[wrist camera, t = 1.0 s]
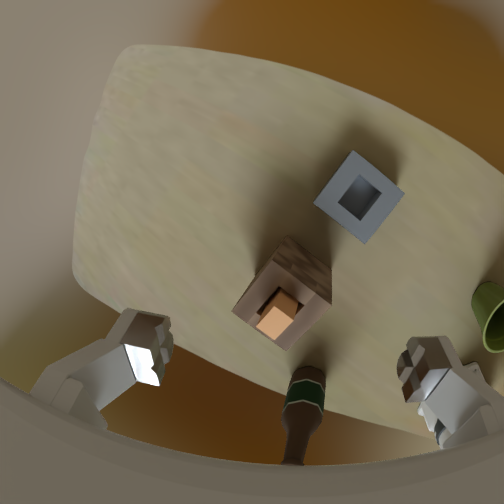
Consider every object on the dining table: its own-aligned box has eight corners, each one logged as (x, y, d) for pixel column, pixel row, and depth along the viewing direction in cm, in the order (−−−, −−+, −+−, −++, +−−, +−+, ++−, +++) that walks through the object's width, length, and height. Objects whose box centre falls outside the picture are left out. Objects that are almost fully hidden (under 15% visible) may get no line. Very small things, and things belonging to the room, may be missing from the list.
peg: (300, 293, 42) (293, 320, 34) (284, 311, 43) (274, 340, 36) (284, 281, 42) (274, 305, 34) (268, 300, 43) (255, 326, 36)
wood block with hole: (331, 269, 50) (331, 305, 37) (297, 308, 54) (286, 351, 41) (286, 235, 50) (271, 259, 37) (254, 276, 54) (231, 311, 41)
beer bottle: (290, 364, 58) (266, 454, 35) (327, 365, 56) (317, 458, 33) (290, 390, 60) (268, 476, 37) (324, 391, 58) (313, 480, 35)
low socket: (395, 190, 43) (404, 193, 38) (360, 235, 47) (364, 244, 41) (349, 152, 43) (353, 149, 38) (314, 198, 47) (313, 203, 42)
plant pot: (452, 298, 45) (474, 327, 34) (493, 258, 40) (522, 279, 30) (473, 334, 45) (493, 364, 35) (511, 298, 41) (536, 322, 30)
